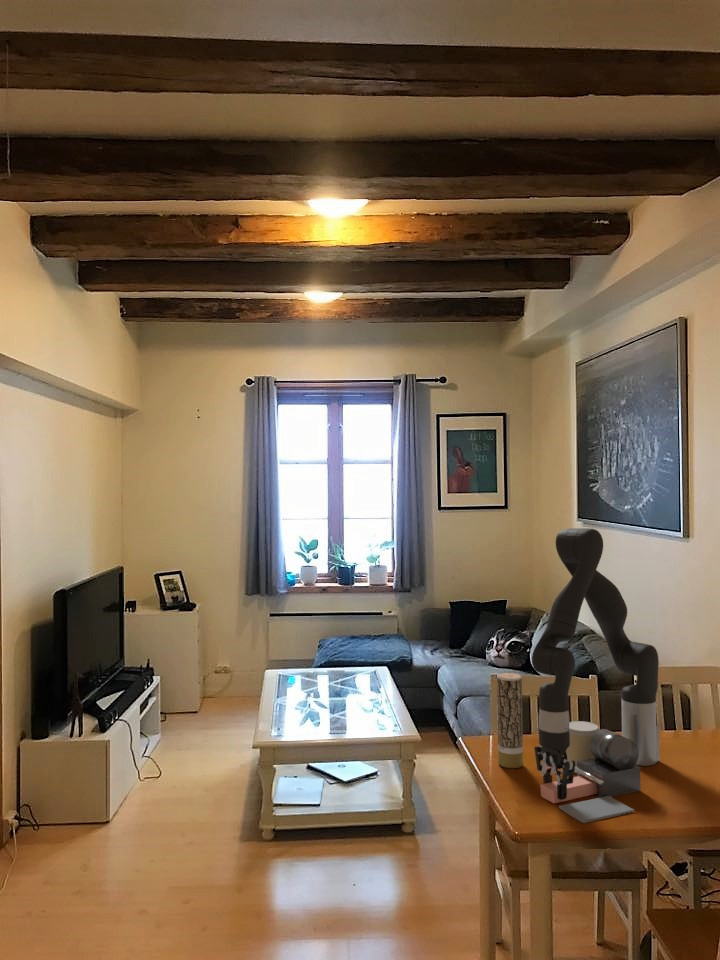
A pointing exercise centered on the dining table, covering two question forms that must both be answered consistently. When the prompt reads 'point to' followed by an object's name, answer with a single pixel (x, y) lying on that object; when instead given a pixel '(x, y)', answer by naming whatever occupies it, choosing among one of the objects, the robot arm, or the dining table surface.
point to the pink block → (570, 789)
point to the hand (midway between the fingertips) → (554, 794)
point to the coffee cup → (580, 741)
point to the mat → (596, 809)
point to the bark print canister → (510, 720)
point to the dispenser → (612, 764)
